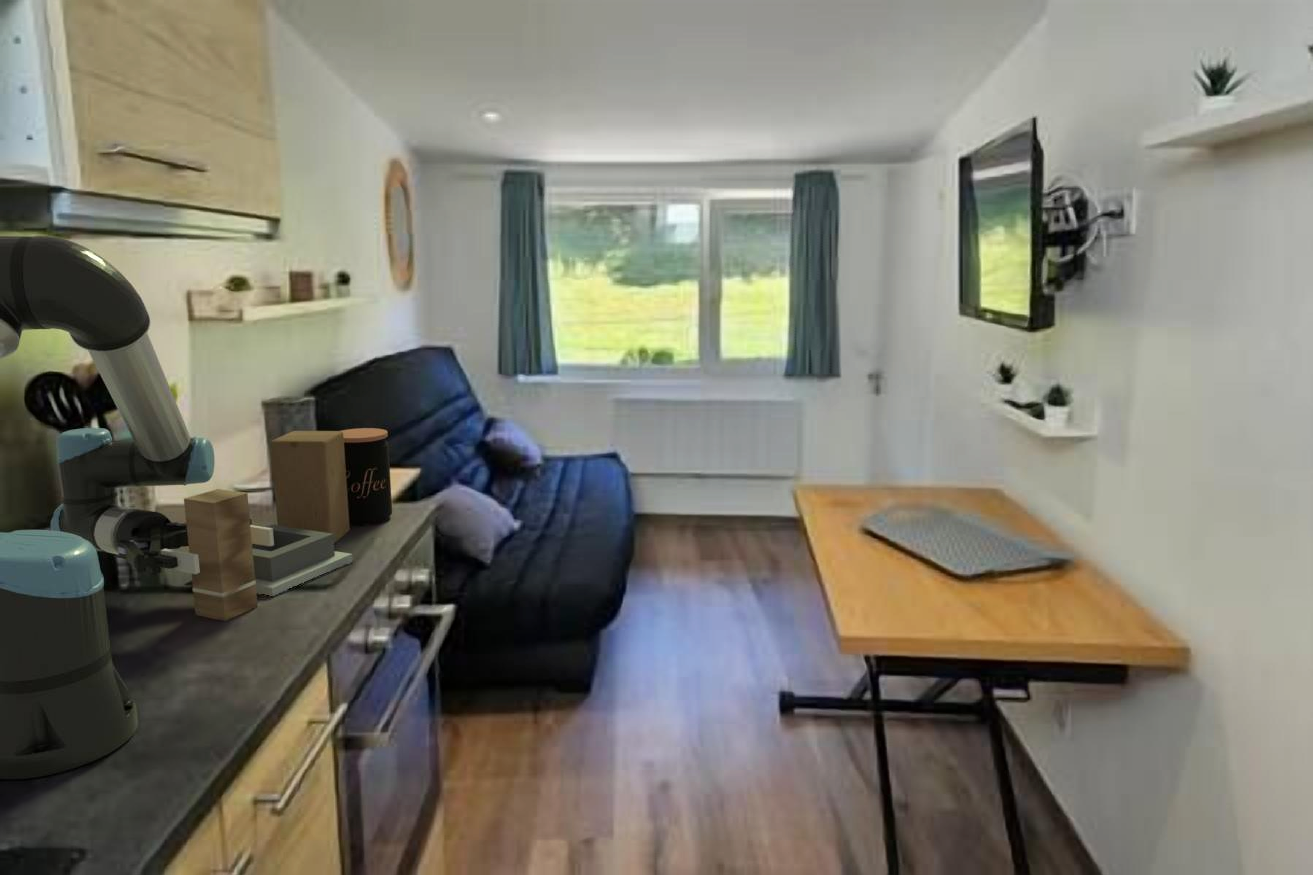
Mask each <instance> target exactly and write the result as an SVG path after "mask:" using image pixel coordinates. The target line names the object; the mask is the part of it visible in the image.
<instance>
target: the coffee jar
mask: <svg viewBox="0 0 1313 875" xmlns="http://www.w3.org/2000/svg"><path fill="white" fill-rule="evenodd" d="M340 431H341V432H343V437H344V452H345V467H346V482H347V496H348V511H349V526H354V527H356V526H358V527H362V526H363V527H364V526H372V525H377V524H381V523H384V522H387V521H388V520H389V519H390V517H391V515H392V513H393V506H392V504H393V503H392V486H391V485H392V484H391V466H390V455H389V454H390V449H389V448H390V447H389V442H388V441H387V437H388V430H386V429H382V428H373V427H369V428H368V427H363V428H360V427H359V428H350V429H342V430H340Z"/></svg>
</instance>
